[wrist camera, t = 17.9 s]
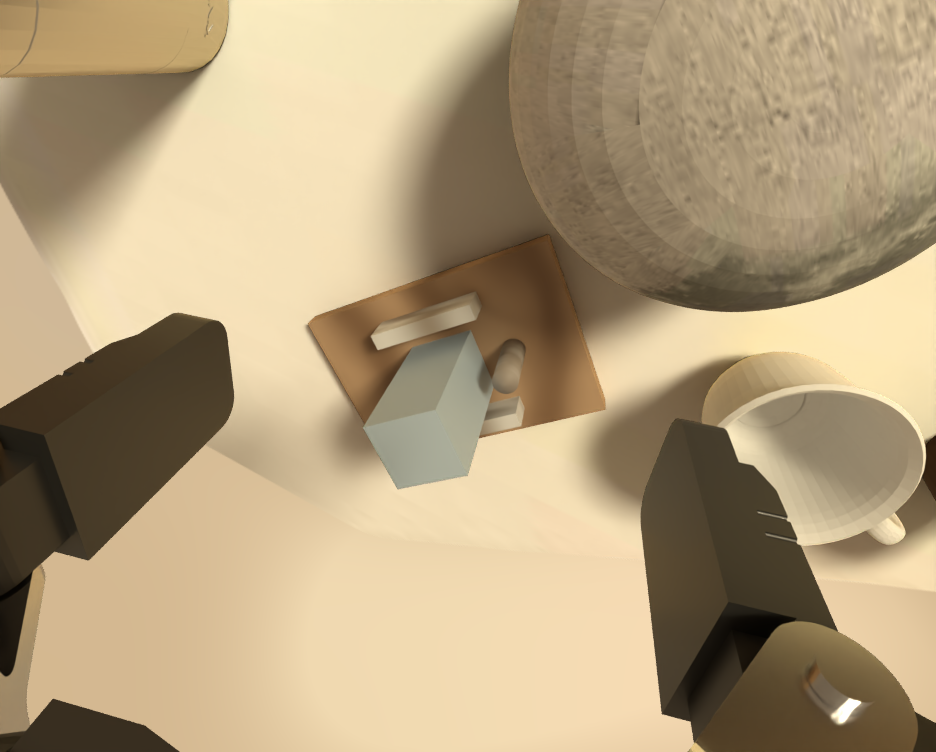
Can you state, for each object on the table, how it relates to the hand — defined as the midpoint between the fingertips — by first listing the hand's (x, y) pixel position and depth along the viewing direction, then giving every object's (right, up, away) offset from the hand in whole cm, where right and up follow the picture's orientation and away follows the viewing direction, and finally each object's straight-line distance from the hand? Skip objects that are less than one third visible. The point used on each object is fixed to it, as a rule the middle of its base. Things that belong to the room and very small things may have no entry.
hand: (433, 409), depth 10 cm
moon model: (+14, +18, +22) cm, 32 cm away
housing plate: (0, +2, +34) cm, 34 cm away
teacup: (+23, -1, +31) cm, 39 cm away
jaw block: (-1, +1, +33) cm, 33 cm away
